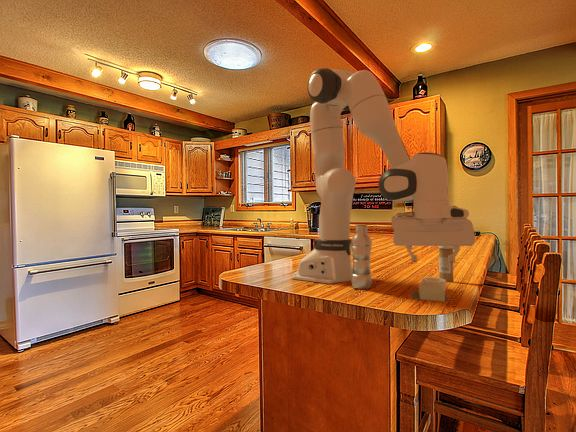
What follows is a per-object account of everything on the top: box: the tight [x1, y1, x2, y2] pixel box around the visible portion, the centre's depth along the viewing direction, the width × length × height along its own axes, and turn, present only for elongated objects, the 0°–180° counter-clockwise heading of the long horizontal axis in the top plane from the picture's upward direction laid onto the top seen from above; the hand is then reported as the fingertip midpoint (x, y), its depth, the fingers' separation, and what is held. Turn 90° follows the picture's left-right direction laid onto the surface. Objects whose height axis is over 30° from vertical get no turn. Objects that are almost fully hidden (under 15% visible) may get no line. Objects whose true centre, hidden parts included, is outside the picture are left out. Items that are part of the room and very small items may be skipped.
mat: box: [410, 291, 450, 303], centre depth 87 cm, size 9×8×1 cm
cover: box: [418, 283, 446, 302], centre depth 87 cm, size 6×8×2 cm
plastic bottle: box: [350, 224, 373, 290], centre depth 98 cm, size 6×7×20 cm
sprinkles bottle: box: [438, 246, 454, 284], centre depth 106 cm, size 5×5×13 cm
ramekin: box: [421, 276, 447, 292], centre depth 95 cm, size 6×6×4 cm
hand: (432, 261), depth 86 cm, fingers open, 8 cm apart
